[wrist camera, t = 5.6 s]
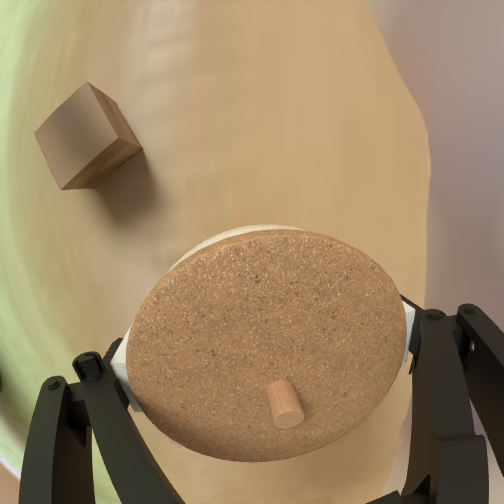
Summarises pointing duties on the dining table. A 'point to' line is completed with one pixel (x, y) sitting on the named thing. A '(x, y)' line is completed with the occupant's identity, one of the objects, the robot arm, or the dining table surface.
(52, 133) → the cube walnut
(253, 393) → the lidded jar
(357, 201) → the dining table surface
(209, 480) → the dining table surface
